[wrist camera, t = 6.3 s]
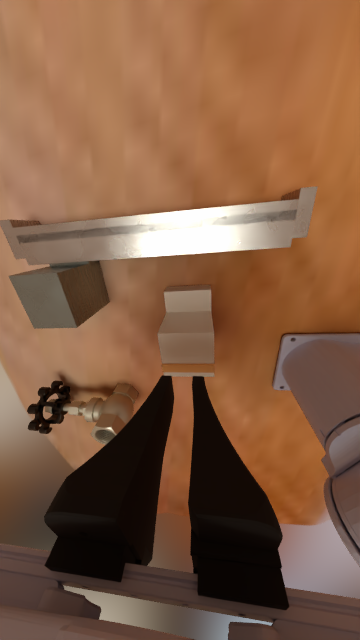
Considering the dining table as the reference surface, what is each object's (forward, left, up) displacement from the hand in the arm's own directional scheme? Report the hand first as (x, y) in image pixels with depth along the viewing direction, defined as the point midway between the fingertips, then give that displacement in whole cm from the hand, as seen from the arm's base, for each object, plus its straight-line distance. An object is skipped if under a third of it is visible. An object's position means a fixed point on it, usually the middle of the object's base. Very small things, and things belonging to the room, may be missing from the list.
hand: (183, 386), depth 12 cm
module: (0, -1, -9) cm, 9 cm away
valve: (+14, +11, -10) cm, 20 cm away
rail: (+3, -7, -9) cm, 12 cm away
